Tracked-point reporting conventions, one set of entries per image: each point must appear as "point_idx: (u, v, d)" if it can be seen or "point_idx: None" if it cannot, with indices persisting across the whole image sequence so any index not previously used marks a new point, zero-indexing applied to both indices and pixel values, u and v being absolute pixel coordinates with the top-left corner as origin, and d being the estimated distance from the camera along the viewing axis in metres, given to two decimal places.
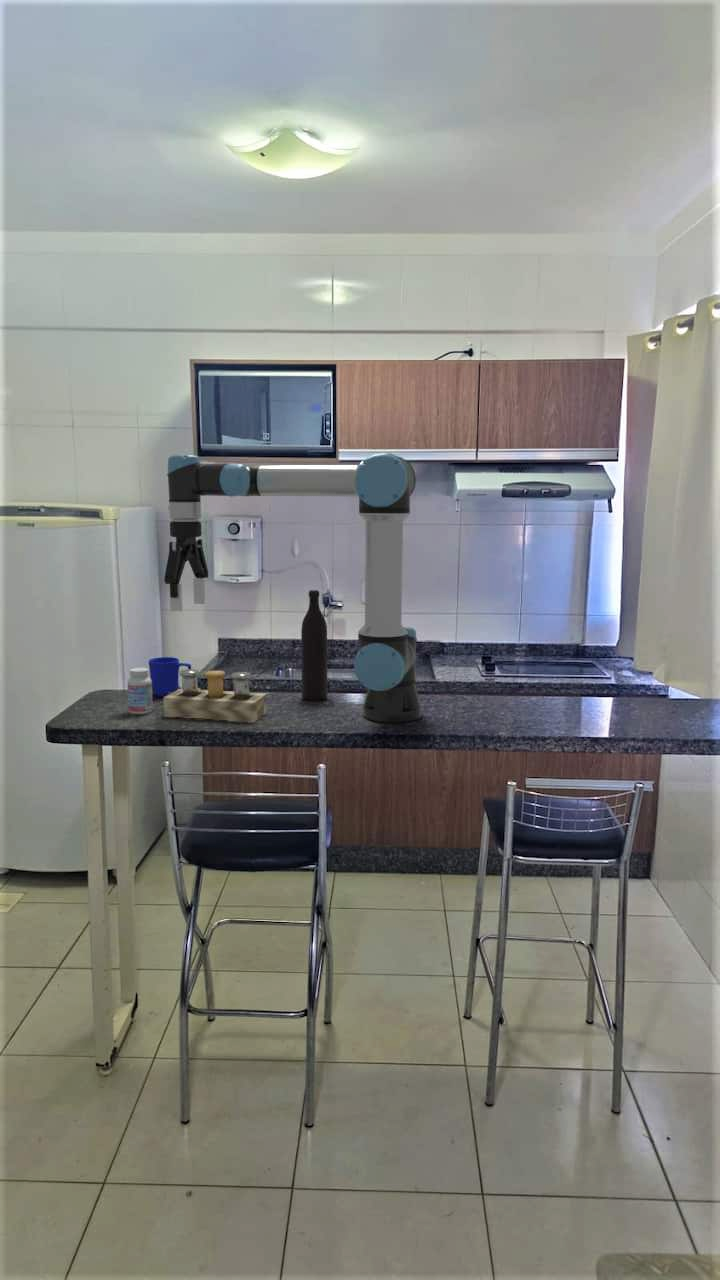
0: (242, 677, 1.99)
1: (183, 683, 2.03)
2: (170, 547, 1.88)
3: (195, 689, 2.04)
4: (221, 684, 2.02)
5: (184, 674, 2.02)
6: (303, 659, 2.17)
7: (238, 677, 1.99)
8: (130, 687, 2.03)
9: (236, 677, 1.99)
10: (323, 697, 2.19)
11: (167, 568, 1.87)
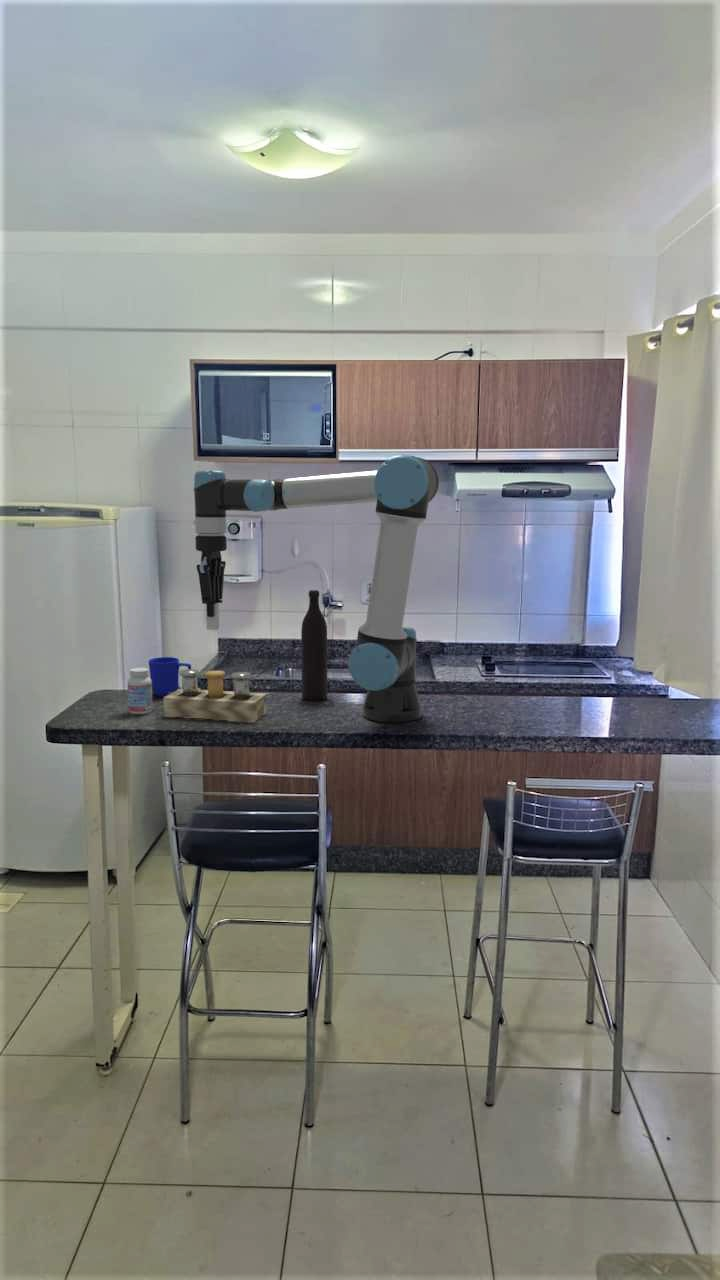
0: (242, 677, 1.99)
1: (183, 683, 2.03)
2: (198, 571, 1.92)
3: (195, 689, 2.04)
4: (221, 684, 2.02)
5: (184, 674, 2.02)
6: (303, 659, 2.17)
7: (238, 677, 1.99)
8: (130, 687, 2.03)
9: (236, 677, 1.99)
10: (323, 697, 2.19)
11: (202, 590, 1.95)
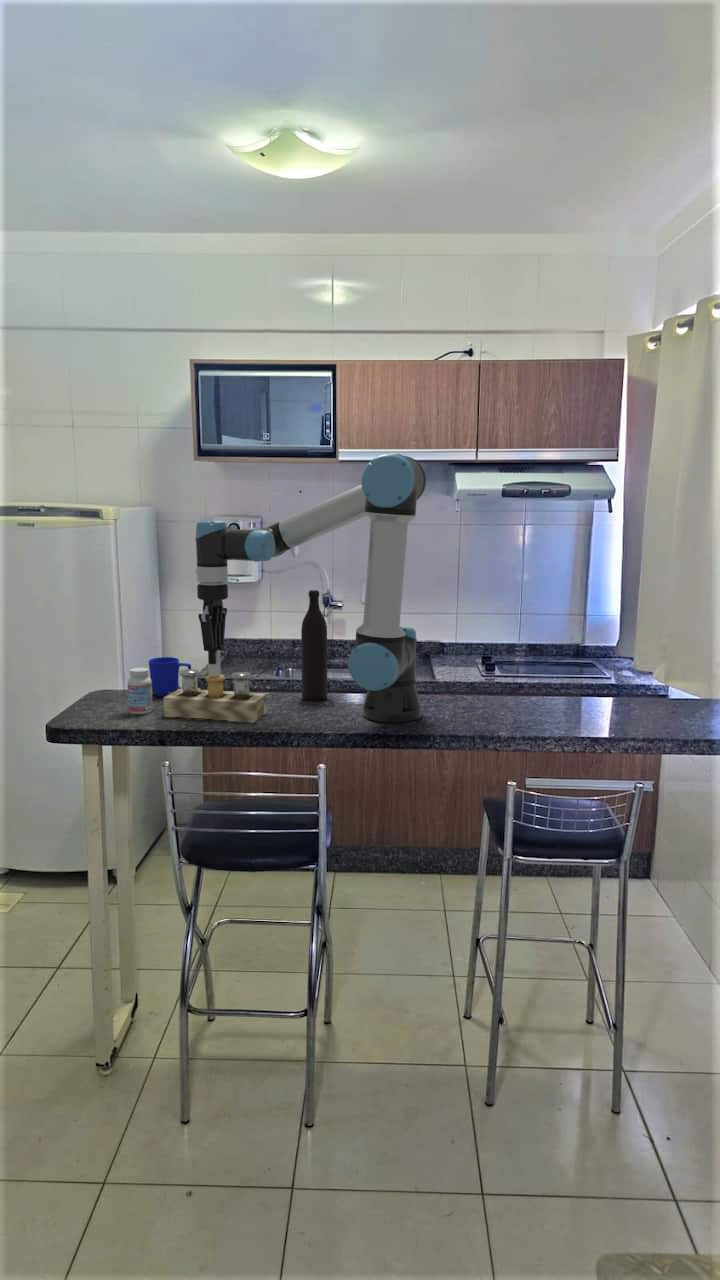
0: (242, 677, 1.99)
1: (183, 683, 2.03)
2: (200, 620, 1.95)
3: (195, 689, 2.04)
4: (221, 688, 2.02)
5: (184, 674, 2.02)
6: (303, 659, 2.17)
7: (238, 677, 1.99)
8: (130, 687, 2.03)
9: (236, 677, 1.99)
10: (323, 697, 2.19)
11: (203, 639, 1.97)
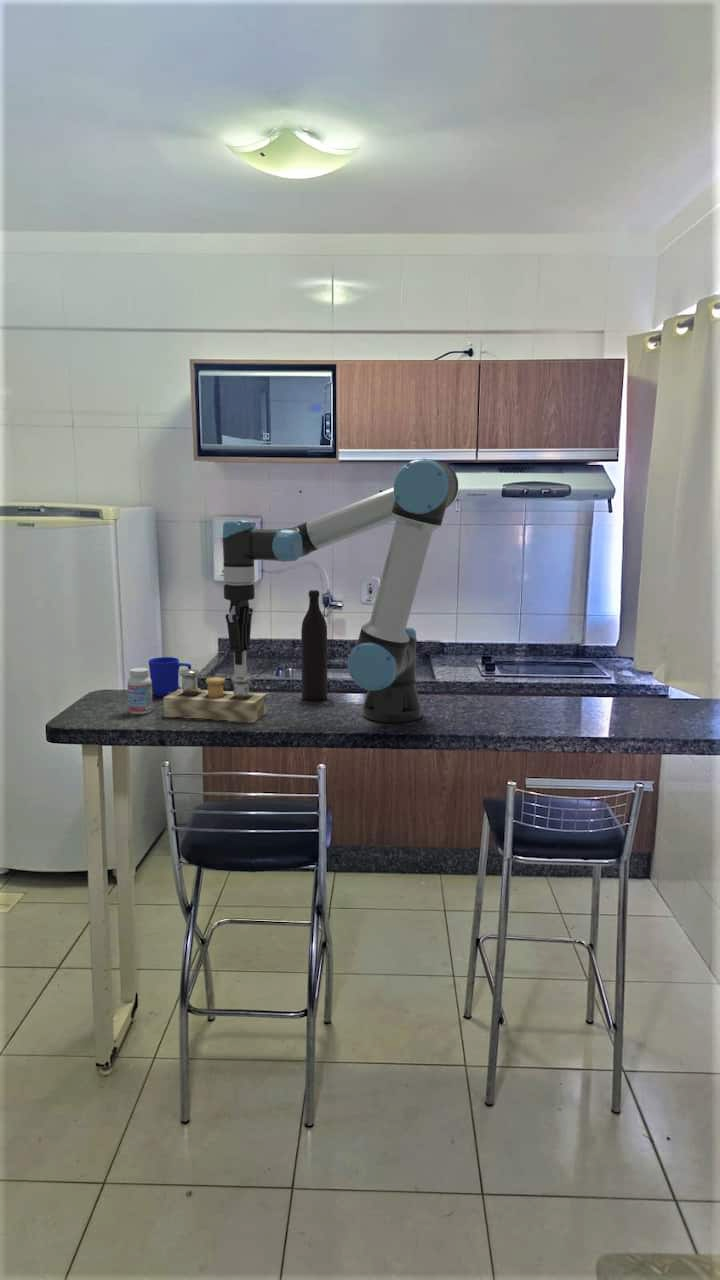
0: (242, 680, 1.99)
1: (183, 683, 2.03)
2: (227, 620, 1.93)
3: (195, 689, 2.04)
4: (221, 691, 2.03)
5: (184, 674, 2.02)
6: (303, 659, 2.17)
7: (238, 680, 1.99)
8: (130, 687, 2.03)
9: (236, 680, 1.99)
10: (323, 697, 2.19)
11: (230, 639, 1.95)
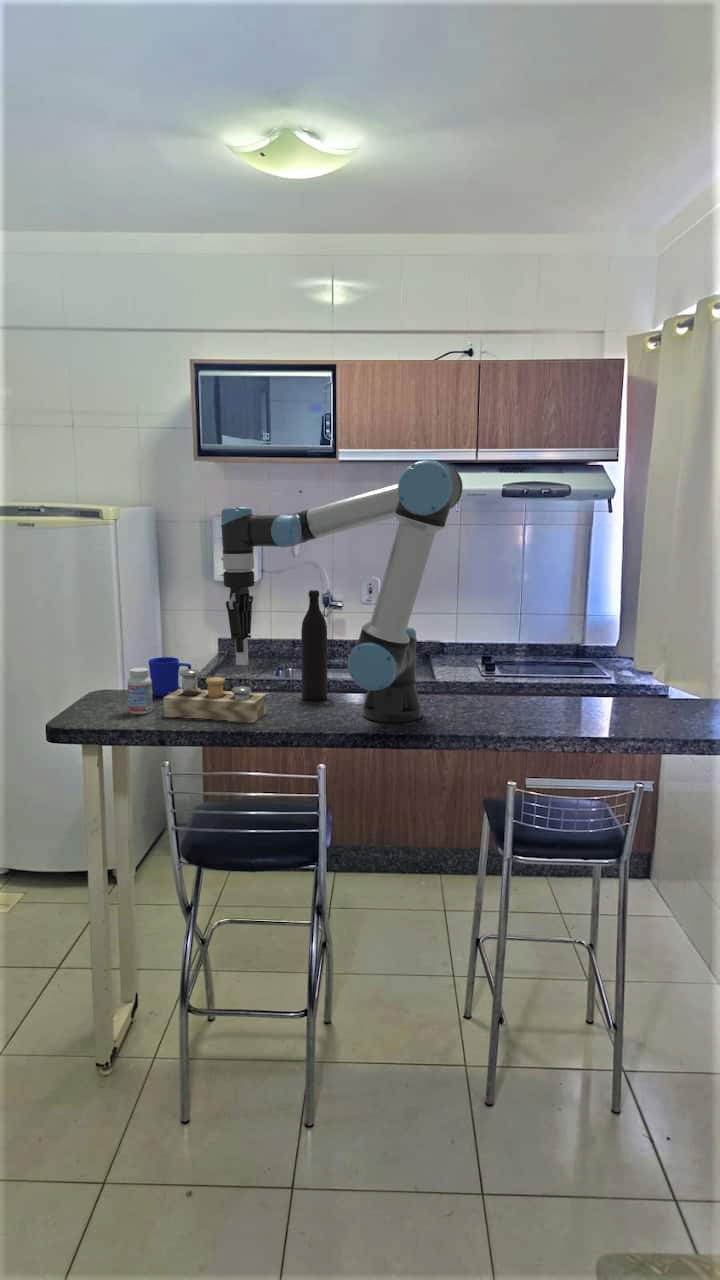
0: (242, 692, 2.00)
1: (183, 683, 2.03)
2: (228, 607, 1.92)
3: (195, 689, 2.04)
4: (221, 691, 2.03)
5: (184, 674, 2.02)
6: (303, 659, 2.17)
7: (238, 692, 1.99)
8: (130, 687, 2.03)
9: (236, 692, 2.00)
10: (323, 697, 2.19)
11: (231, 627, 1.95)
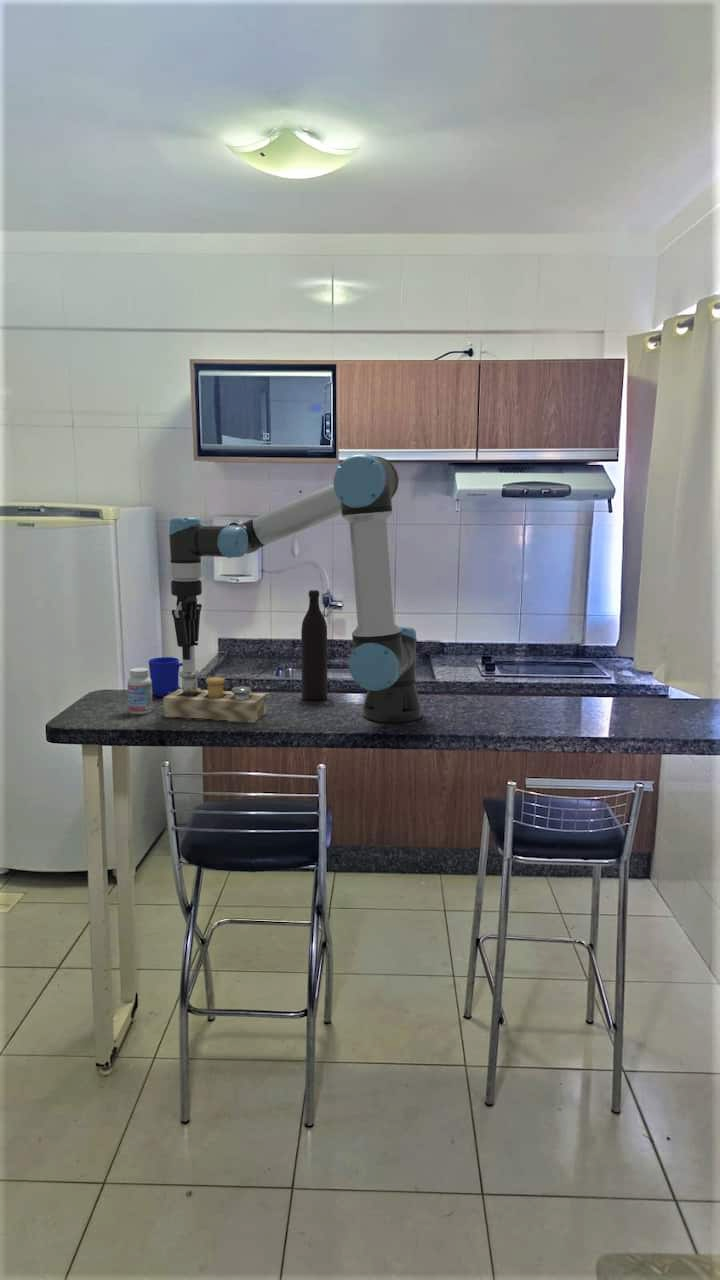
0: (242, 692, 2.00)
1: (183, 684, 2.03)
2: (173, 616, 1.96)
3: (195, 690, 2.04)
4: (221, 691, 2.03)
5: (184, 675, 2.02)
6: (303, 659, 2.17)
7: (238, 692, 1.99)
8: (130, 687, 2.03)
9: (236, 692, 2.00)
10: (323, 697, 2.19)
11: (177, 635, 1.98)
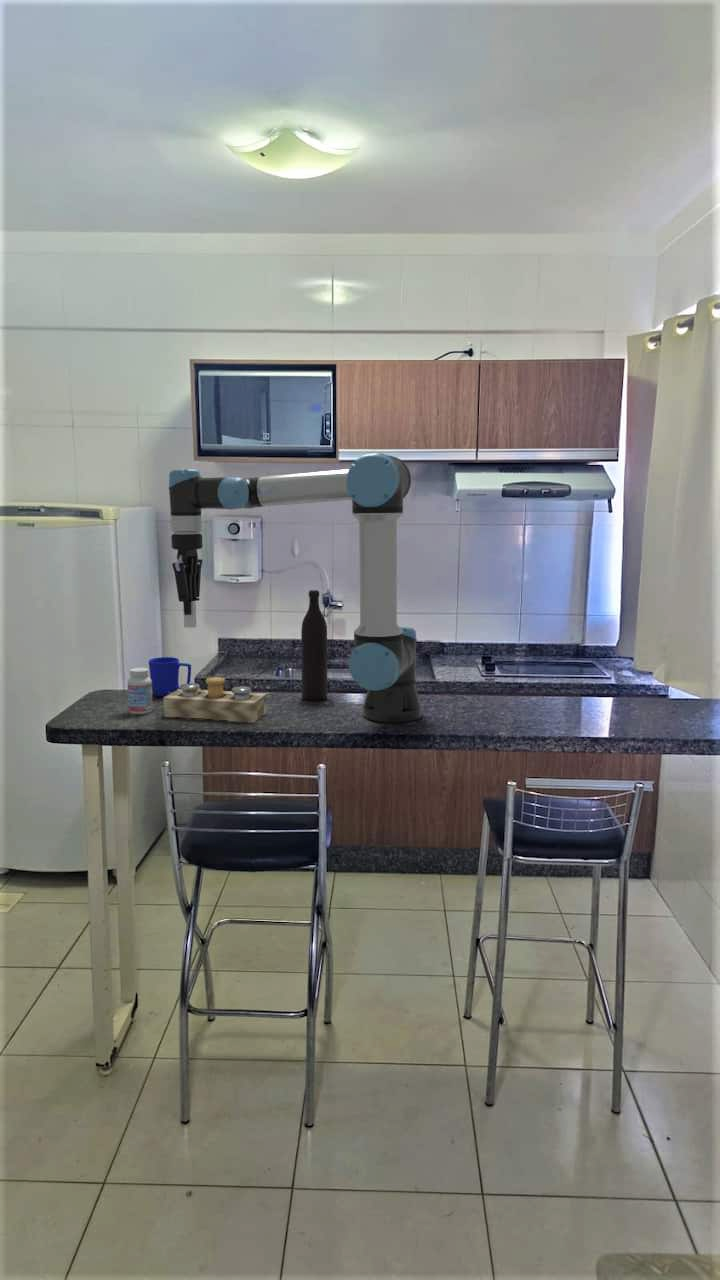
0: (242, 692, 2.00)
1: None
2: (174, 569, 1.94)
3: None
4: (221, 691, 2.03)
5: (185, 688, 2.03)
6: (303, 659, 2.17)
7: (238, 692, 1.99)
8: (130, 687, 2.03)
9: (236, 692, 2.00)
10: (323, 697, 2.19)
11: (178, 588, 1.96)
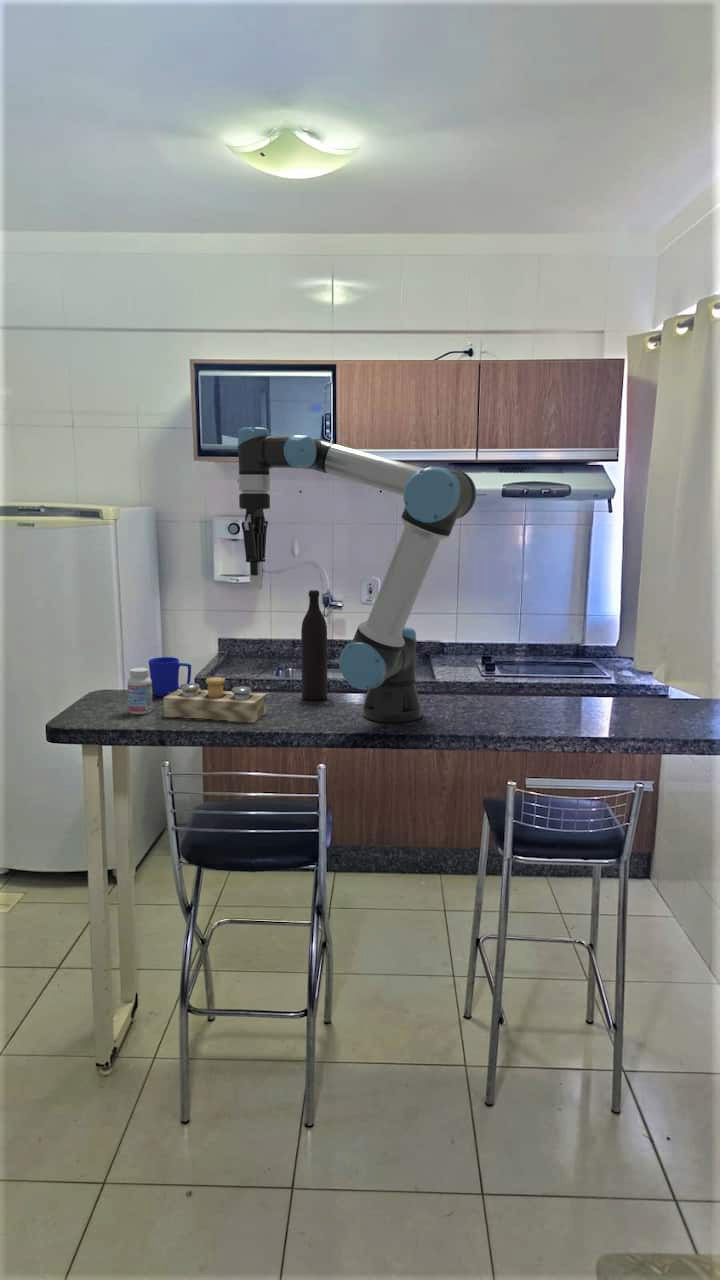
0: (242, 692, 2.00)
1: None
2: (243, 528, 1.92)
3: None
4: (221, 691, 2.03)
5: (185, 688, 2.03)
6: (303, 659, 2.17)
7: (238, 692, 1.99)
8: (130, 687, 2.03)
9: (236, 692, 2.00)
10: (323, 697, 2.19)
11: (246, 548, 1.95)
